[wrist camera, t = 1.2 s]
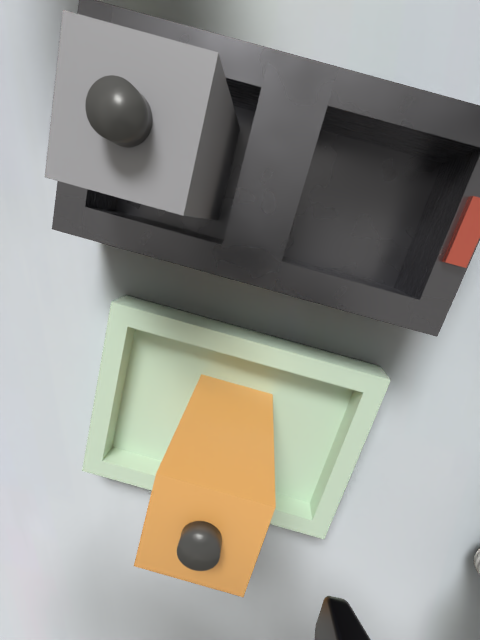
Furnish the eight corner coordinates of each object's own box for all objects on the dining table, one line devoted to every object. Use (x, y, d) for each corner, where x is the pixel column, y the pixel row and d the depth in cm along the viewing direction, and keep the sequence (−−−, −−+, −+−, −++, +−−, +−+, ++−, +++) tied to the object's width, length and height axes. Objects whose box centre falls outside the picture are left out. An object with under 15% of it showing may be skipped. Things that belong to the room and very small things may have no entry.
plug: (272, 394, 19) (276, 522, 11) (252, 455, 20) (242, 615, 12) (201, 374, 19) (150, 486, 11) (185, 436, 20) (127, 582, 12)
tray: (379, 366, 19) (390, 380, 17) (319, 514, 21) (324, 539, 20) (125, 295, 19) (111, 301, 17) (97, 451, 21) (82, 470, 20)
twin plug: (240, 128, 15) (213, 35, 8) (217, 220, 17) (176, 214, 9) (152, 104, 16) (42, -12, 8) (135, 197, 17) (25, 172, 9)
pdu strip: (468, 146, 16) (539, 117, 12) (400, 313, 18) (440, 338, 14) (125, 51, 16) (75, -10, 12) (98, 228, 18) (47, 229, 14)
